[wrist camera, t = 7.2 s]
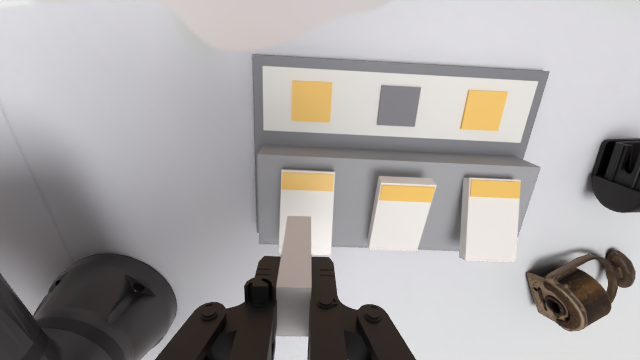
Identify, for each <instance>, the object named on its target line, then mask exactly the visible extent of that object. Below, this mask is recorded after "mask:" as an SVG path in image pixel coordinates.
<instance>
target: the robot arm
mask: <svg viewBox="0 0 640 360" xmlns="http://www.w3.org/2000/svg"><path fill="white" fill-rule="evenodd" d="M244 291H245V302H244V303H242V304H240V305H238V306H235V307H232V308H227V309H225V307H224V306H223V304H220V303H218V302H210V303H205V304H203V305H201V306H199V307H198V308H197V309H196V310H195V311H194V312H193V313H192V315H191V316H190V317H189V318H188V320H187V321H186V322H185V323H184V324H183V326H182V327H181V328H180V329H179V331H178V332H177V333H176V334H175V336H174V337H173V338H172V339H171V341H170V342H169V343H168V344H167V345H166V347H165V348H164V349H163V350H162V352H161V353H160V354H159V355H158V357H157V358H156V359H155V360H274V354H275V337H276V336H309V340H308V359H307V360H347V359H348V360H416V359H415V357H414V356H413V354H412V353H411V351H410V349H409V348H408V346H407V345H406V343H405V341H404V340H403V338H402V337H401V335H400V333H399V332H398V330H397V329H396V327H395V325H394V324H393V322H392V321H391V319H390V317H389V316H388V314H387V313H386V312H385V311H384V309H382V308H381V307H379V306H376V305H373V304H366V305H363V306H361V307H360V308H359V309H358V310H355V309H352V308H349V307H347V306H345V305H343V304H342V303H341V302H340V301H339V299H338V296H337V289H336V281H335V272H334V264H333V262H332V261H331V259H330V258H329V257H311V217H309V216H287V222H286V228H285V234H284V241H283V247H282V253H281V257H275V256H264V257H263V258H262V259H261V260H260V261H259V263H258V267H257V271H256V275H255V278H252V279H250V280H249V281H247V282H246V284H245V286H244ZM175 315H176V300H175V296H174V294H173V291H172V289H171V288H170V286H169V285H168V283H167V282H166V281H165V279H164V278H163V277H162V276H161V275H160V274H159V273H157V272H156V271H155V270H154V269H152V268H151V267H149V266H147V265H146V264H144V263H142V262H140V261H138V260H135V259H132V258H129V257H126V256H121V255H115V254H99V255H93V256H89V257H86V258H83V259H81V260H79V261H77V262H76V263H74V264H73V265H72V266H71V267H69V268H68V269H67V270H66V271H65V272H63V273H62V274H61V275H60V276H59V277H58V278H57V279H56V280H55V281H54V283H53V284H52V286H51V288H50V289H49V292H48V294H47V295H46V296H45V298H44V299H43V301H42V302H41V303H40V305H39V307H38V308H37V310H36V311H35V313H34V315H33V316H32V315H31V313H30V312H29V311H28V309H27V308H26V307H25V305H24V304H23V303H22V301H21V300H20V299H19V297H18V296H17V295H16V293H15V292H14V291H13V289H12V288H11V287H10V285H9V284H8V283H7V281H6V280H5V279H4V277H3V276H2V275H1V274H0V360H140V359H142V358H143V357H144V356H145V355H146V354H147V353H148V352H149V351H150V350H151V349H152V348H153V347H155V346H156V345H157V344H158V343H159V342H160V341H161V340H162V339H163V338H164V336H165V335H166V333H167V331H168V330H169V328H170V326H171V324H172V323H173V321H174V318H175Z"/></svg>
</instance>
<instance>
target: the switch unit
mask: <svg viewBox="0 0 640 360" xmlns="http://www.w3.org/2000/svg"><path fill="white" fill-rule="evenodd" d="M252 56H253V96H254V135H255V175H256V214H257V232H258V233H259V244H279V229H280V200H281V171H282V169H291V170H314V171H334V172H335V184H334V203H333V223H332V242H331V246H333V247H361V248H368V244H367V239H368V233H369V228H370V222H371V217H372V211H373V205H374V200H375V194H376V188H377V183H378V177H379V176H392V177H414V178H432V179H433V180H434V182H435V183H436V185H437V186H436V189H435V192H434V196H433V199H432V202H431V206H430V209H429V212H428V216H427V219H426V223H425V226H424V229H423V233H422V236H421V239H420V243H419V246H418V249H417V250H443V251H459V249H460V231H461V212H462V194H463V178H487V179H509V180H521V185H520V200H519V218H518V235H519V232H520V229H521V226H522V223H523V220H524V217H525V214H526V211H527V208H528V204H529V201H530V198H531V195H532V192H533V189H534V186H535V183H536V180H537V177H538V174H539V171H540V168H541V167H539V166H536V165H534V164H532V163H529V162H527V161H525V160H523V158H524V154H525V151H526V148H527V145H528V141H529V138H530V135H531V131H532V128H533V125H534V121H535V118H536V115H537V112H538V108H539V105H540V102H541V98H542V95H543V92H544V88H545V85H546V82H547V79H548V75H549V72H550V71H534V70H516V69H499V68H481V67H464V66H446V65H429V64H411V63H394V62H376V61H359V60H341V59H324V58H306V57H289V56H271V55H254V54H252ZM518 235H517V238H518Z"/></svg>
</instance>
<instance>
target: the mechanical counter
mask: <svg viewBox="0 0 640 360" xmlns="http://www.w3.org/2000/svg"><path fill="white" fill-rule="evenodd" d="M593 259H596V260H598V261H600V262H601V263H602V264H603V265H604V267H605V269H606V276H607V279H608V288H607V292H606V291H605V290H604V288H603V287H602V286H601V285H600V284H599V283H598V282H597V281H596V280H595V279H594V278H593V277H591V276H590V275H588V274H587V273H585V272H584V271H582V270H579V269H577V267H578V266H580V265H582V264H584V263H586V262H587V261H590V260H593ZM527 278H528V281H529V285H530V288H531V291H532V295H533V298H534V301H535V304H536V307H537V310H538V312H539V313H541V314H542V315H544V316H546V317H547V318H549V319H551V320H553V321H555V322H556V323H557V324H558V325H559V326H561V327H562V328H563V329H565V330H567V331H580V330H582V329H584V328H585V327H586V326H588V325H590V324H592V323H593V322H595V321H597V320H598V319H600V318H602V317H604V316H605V315H607V314H608V313H609V312H610V310H611V303H612V302H613V300H614V298H615V296H616V293H617V289H618V286H619V287H622V288H627V287H630V286H631V285H632V284H633V282H634V280H635V269H634V267H633V264H632V262H631V261H630V260H629V259H628V258H627V257H626V256H625V255H624V254H623V253H621V252H620V251H613V252H610V253H609V254H608V255H607V260H606V259H604V258H603V257H599V256H596V255H591V254H588V255H584V256H581V257H578V258H576V259H574V260H572V261H571V262H569V263H568V264H566V265H563V266H561V267H559V268H557V269H556V270H554V271H552V272H550V273H548V274H547V276H545V277H540V276H538V275H535V274H533V273H529V272H527Z"/></svg>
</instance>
